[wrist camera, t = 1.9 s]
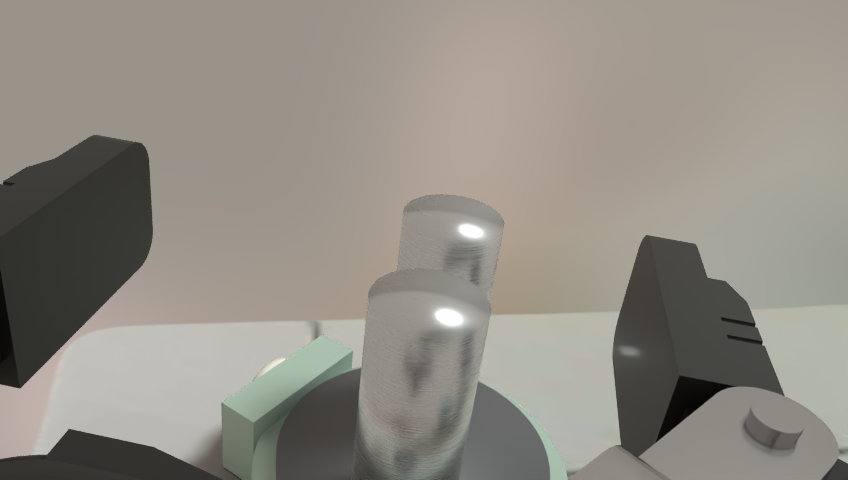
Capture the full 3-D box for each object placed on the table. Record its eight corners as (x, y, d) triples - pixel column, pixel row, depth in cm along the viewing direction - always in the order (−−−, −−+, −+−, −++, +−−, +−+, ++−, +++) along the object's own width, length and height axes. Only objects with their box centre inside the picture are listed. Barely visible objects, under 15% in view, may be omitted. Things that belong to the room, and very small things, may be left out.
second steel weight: (485, 399, 37) (521, 218, 32) (438, 447, 34) (470, 253, 29) (415, 362, 39) (439, 185, 34) (364, 404, 36) (383, 216, 31)
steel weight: (471, 501, 31) (513, 300, 27) (414, 570, 28) (448, 355, 23) (390, 452, 33) (414, 256, 28) (327, 512, 30) (342, 302, 25)
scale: (603, 495, 38) (622, 435, 36) (452, 732, 27) (468, 664, 25) (352, 359, 45) (356, 302, 43) (154, 505, 34) (149, 438, 32)
